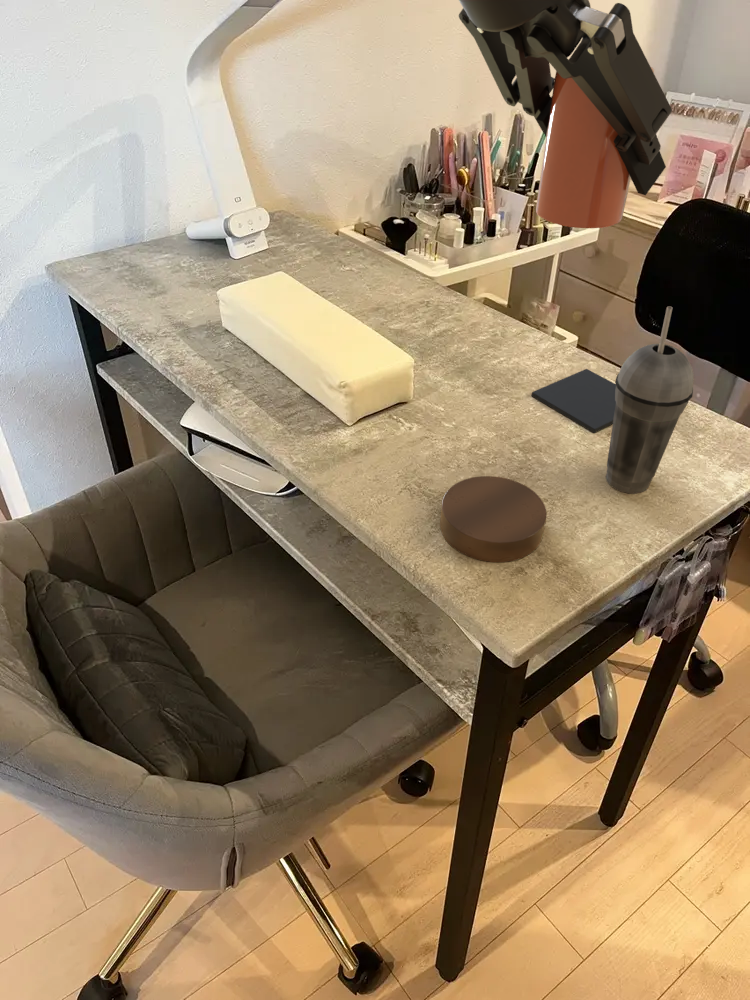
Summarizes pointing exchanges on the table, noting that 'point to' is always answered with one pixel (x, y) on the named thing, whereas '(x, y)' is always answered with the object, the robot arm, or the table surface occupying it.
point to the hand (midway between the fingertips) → (612, 167)
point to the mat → (582, 399)
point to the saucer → (492, 518)
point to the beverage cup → (647, 411)
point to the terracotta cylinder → (580, 163)
